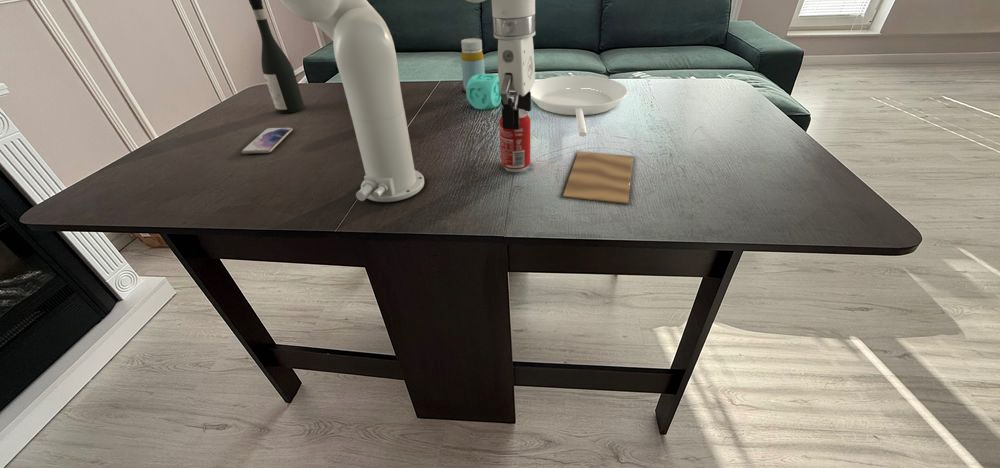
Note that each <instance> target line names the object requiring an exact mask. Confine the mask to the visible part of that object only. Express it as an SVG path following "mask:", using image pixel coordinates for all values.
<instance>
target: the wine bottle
mask: <svg viewBox="0 0 1000 468" xmlns="http://www.w3.org/2000/svg"><path fill="white" fill-rule="evenodd" d="M248 3H249V5H250V6H251V10H252V12H253V15H254V18H255V21H256V23H257V27H258V30H259V34H260V38H261V59H260V61H261V63H260V64H261V70H262V74H263V77H264V79H265V82H266V85H267V88H268V91H269V94H270V97H271V100H272V103H273V106H274V108H275V111H276V112H278V113H280V114H293V113H297V112H299V111H302V110H303V108H305V104H304V103H305V102H304V100H303V97H302V93H301V90H300V87H299V83H298V80H297V77H296V73H295V70H294V68H293V66H292V63H291V62H290V60H289V58H288V56H287V55H286V53H285V52H284V51H283V50H282V48H281V47H280V45H279V44H278V43H277V41H276V39H275V38H274V36H273V33H272V31H271V28H270V24H269V22H268V18H267V15H266V12H265V9H264V5H263V0H248Z"/></svg>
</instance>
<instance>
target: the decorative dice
mask: <svg viewBox="0 0 1000 468" xmlns="http://www.w3.org/2000/svg"><path fill="white" fill-rule="evenodd" d="M465 92H466V99H467V101H468V103H469V104H470V106H472V107H473V108H474V109H476V110H481V111H482V110H486V111H487V110H493V109H497V107H498V106H500V105H501V95H500V90H499V79H498V74H494V73H485V74H478V75H474V76H472V77H471V78H470V79H469V81H468V84H467V89H466V91H465Z"/></svg>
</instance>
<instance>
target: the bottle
mask: <svg viewBox="0 0 1000 468" xmlns="http://www.w3.org/2000/svg"><path fill="white" fill-rule="evenodd" d="M460 44H461V56H460V58H461V60H460V61H461V72H462V83H463V90H464V92H466V89H467V84H468V81H469V79H470V78H471V77H472V76H474V75H478V74H486V73H485V72H486V70H485V68H486V67H485V55H484V53H483V41H482V39H481V38H476V37H472V38H471V37H470V38H464V39H461V41H460Z"/></svg>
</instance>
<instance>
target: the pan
mask: <svg viewBox="0 0 1000 468" xmlns="http://www.w3.org/2000/svg"><path fill="white" fill-rule="evenodd" d="M566 88H570V89H566ZM581 88H591V89H595V90H591V89H581ZM596 90H598V91H596ZM600 91H601V92H600ZM528 92H531V101H533V102H534V103H535V104H536V105H537V106H538V107H539V108H540V109H541V110H544V111H547V112H550V113H553V114H556V115H557V114H558V115H562V116H576V117H575V118H576V124H577V131H578V135H579V137H582V138H585V137H586V136H587V135H588V133H587V128H586V122H585V116H592V115H598V114H601V113H605V112H608V111H610V110H612V109H614V107H616V106H617V105H618V104H619V103H620V102H621V101H623V100H624V99H625V98H626V97H627V95H628V93H629V92H628V88H627V87H626V86H625V85H624V84H622V83H621V82H619V81H616V80H614V79H611V78H606V77H603V76H602V77H601V76H594V75H585V74H584V75H583V74H581V75H580V74H579V75H578V74H570V75H558V76H557V75H556V76H550V77H545V78H542V79H539V80H537V81H536V80H535V83H534V84H533V86H532V87H531V89H530V91H528Z"/></svg>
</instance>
